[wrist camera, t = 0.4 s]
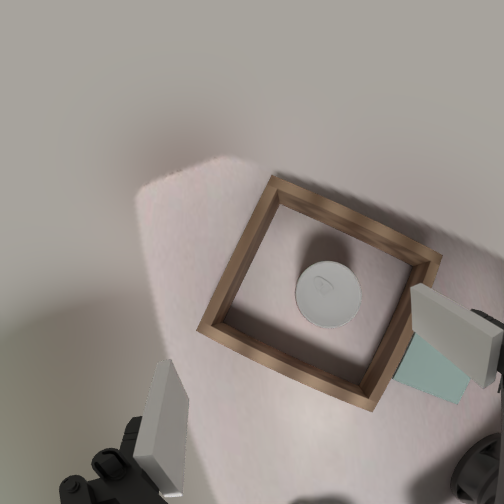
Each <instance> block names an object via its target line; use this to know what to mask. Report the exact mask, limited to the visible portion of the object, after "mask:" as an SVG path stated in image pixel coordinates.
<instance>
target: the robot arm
mask: <svg viewBox="0 0 504 504" xmlns="http://www.w3.org/2000/svg"><path fill="white" fill-rule="evenodd" d="M410 291H411V309H412V330H413V331H414V332H415V333H417V334H418V335H419V336H420V337H422V338H423V339H424V340H425V341H427V342H428V343H429V344H430V345H431V346H433V347H434V348H435V349H436V350H438V351H439V352H440V353H441V354H442V355H444V356H445V357H446V358H447V359H448V360H450V361H451V362H452V363H453V364H454V365H456V366H457V367H458V368H459V369H460V370H462V371H463V372H464V373H465V374H466V375H467V376H469V377H470V378H471V379H472V380H473V381H475V382H476V383H477V384H478V385H479V386H480V387H482V388H483V389H484V388H486V387H487V386H489V385H490V384H492V383H493V382H494V381H495V378H496V373H497V371H498V372H500V373H501V374H502V376H501V380H500V384H499V388H498V393H500V389H501V405H502V429H501V433H498V434H493V435H490V436H488V437H486V438H484V439H482V440H481V441H479V442H478V443H477V444H475V445H474V446H473V447H472V448H471V449H470V450H469V451H468V452H467V453H466V454H465V455H464V456H463V458H462V459H461V460H460V462H459V463H458V465H457V467H456V469H455V471H454V473H453V476H452V479H451V490H452V492H453V494H454V495H455V496H456V498H457V499H458V500H459V501H461V502H463V503H466V504H504V324H503V323H502V322H500V321H498V320H496V319H494V318H493V317H491V316H488V314H486V313H484V312H482V311H479V310H475V309H471V310H469V309H467V308H465V307H463V306H462V305H460V304H458V303H456V302H455V301H453V300H451V299H449V298H447V297H446V296H444V295H442V294H440V293H439V292H437V291H435V290H433V289H431V288H429V287H428V286H426V285H424V284H422V283H420V284H417V285H415V286H412V287H410ZM188 409H189V398H188V396H187V393H186V391H185V389H184V387H183V385H182V382H181V380H180V378H179V376H178V374H177V371H176V369H175V367H174V364H173V362H172V360H171V359H168V360H164V361H160V362H157V365H156V369H155V372H154V376H153V380H152V383H151V387H150V390H149V394H148V398H147V402H146V405H145V409H144V413H143V416H140V417H133V418H132V419H131V420H130V422H129V423H128V424H127V426H126V429H125V432H124V434H125V435H124V436H123V439H122V440H123V441H122V443H121V446H120V450H118V449H115V448H107V449H104V450H102V451H100V452H98V453H97V454H96V455H95V456H94V458H93V459H92V463H91V465H92V468H93V470H94V471H95V472H96V473H97V474H98V475H99V477H100V478H99V479H95V480H91V481H86V480H85V479H84V478H83V477H82V476H79V475H72V476H69V477H67V478H65V479H64V480H63V481H62V483H61V484H60V487H59V493H60V500H61V504H168V503H167V502H166V501H165V500H164V499H163V498H162V497H161V496H160V495H159V491H160V492H161V493H162V494H163V495H164V496H165V497H174V496H183V485H184V466H185V450H186V435H187V422H188Z"/></svg>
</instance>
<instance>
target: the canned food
mask: <svg viewBox="0 0 504 504" xmlns="http://www.w3.org/2000/svg"><path fill="white" fill-rule="evenodd" d="M295 299H296V303H297V306H298V308H299V311H300V312H301V314H302V315H303V316H304V317H305V318H306V319H307V320H308V321H309V322H311V323H312V324H314V325H316V326H319V327H322V328H337V327H340V326H343V325H345V324H347V323H348V322H349V321H351V320H352V319H353V318H354V316H355V315H356V314H357V312H358V310H359V308H360V305H361V299H362V291H361V287H360V283H359V281H358V279H357V277H356V276H355V274H354V273H353V272H352V271H351V270H350V269H349V268H347V267H346V266H344V265H343V264H340V263H338V262H333V261H322V262H317V263H315V264H313V265H311V266H309V267H308V268H307V269H306V270H305V271H304V272H303V273H302V274H301V276H300V277H299V279H298V281H297V284H296V289H295Z"/></svg>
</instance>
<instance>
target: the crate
mask: <svg viewBox="0 0 504 504" xmlns="http://www.w3.org/2000/svg"><path fill="white" fill-rule="evenodd" d="M280 204H282V205H284V206H286V207H289V208H291V209H293V210H295V211H298V212H300V213H302V214H304V215H307V216H309V217H311V218H313V219H316V220H318V221H320V222H322V223H324V224H327V225H329V226H331V227H333V228H335V229H337V230H340V231H342V232H344V233H346V234H348V235H350V236H352V237H355V238H357V239H359V240H361V241H363V242H365V243H367V244H369V245H371V246H373V247H376V248H378V249H380V250H382V251H384V252H386V253H388V254H390V255H392V256H394V257H396V258H398V259H400V260H402V261H404V262H406V263H408V264H410V265H412V266H413V268H412V271H411V274H410V276H409V279H408V281H407V284H406V286H405V289H404V291H403V294H402V296H401V299H400V301H399V303H398V306H397V308H396V310H395V313H394V315H393V317H392V319H391V322H390V324H389V326H388V328H387V331H386V333H385V335H384V337H383V339H382V341H381V343H380V345H379V347H378V349H377V352H376V354H375V356H374V358H373V360H372V362H371V364H370V365H369V367H368V369H367V371H366V373H365V375H364V377H363V379H362V381H361V383H360V384H359V386H358V385H356V384H353V383H351V382H349V381H346V380H344V379H342V378H339V377H337V376H335V375H332V374H330V373H328V372H326V371H323V370H321V369H319V368H316V367H314V366H312V365H310V364H308V363H305V362H303V361H301V360H299V359H297V358H294V357H292V356H290V355H288V354H286V353H284V352H282V351H280V350H277V349H275V348H273V347H271V346H269V345H267V344H265V343H263V342H261V341H259V340H257V339H255V338H253V337H251V336H249V335H247V334H245V333H243V332H241V331H239V330H237V329H235V328H233V327H231V326H229V325H227V324H225V323H223V321H224V319H225V316H226V314H227V312H228V310H229V308H230V306H231V304H232V302H233V300H234V298H235V296H236V294H237V292H238V290H239V288H240V285H241V283H242V281H243V279H244V277H245V275H246V273H247V271H248V269H249V267H250V265H251V263H252V261H253V259H254V256H255V254H256V252H257V250H258V248H259V246H260V244H261V242H262V240H263V238H264V236H265V234H266V232H267V230H268V227H269V225H270V223H271V221H272V219H273V217H274V215H275V213H276V211H277V209H278V207H279V205H280ZM442 256H443V255H441V254H439V253H437V252H436V251H434V250H432V249H430V248H428V247H426V246H424V245H422V244H420V243H419V242H417V241H415V240H413V239H411V238H409V237H407V236H405V235H403V234H401V233H399V232H397V231H395V230H393V229H391V228H389V227H387V226H385V225H383V224H381V223H379V222H377V221H375V220H372V219H370V218H368V217H366V216H364V215H362V214H360V213H358V212H356V211H353V210H351V209H349V208H347V207H345V206H343V205H340V204H338V203H336V202H334V201H332V200H329V199H327V198H325V197H323V196H320V195H318V194H316V193H313V192H311V191H309V190H307V189H304V188H302V187H300V186H297V185H295V184H292V183H290V182H288V181H285V180H283V179H280V178H278V177H276V176H273V175H272V176H271V178H270V180H269V182H268V184H267V186H266V188H265V190H264V192H263V194H262V196H261V198H260V200H259V202H258V204H257V206H256V208H255V210H254V212H253V214H252V216H251V218H250V220H249V222H248V224H247V226H246V228H245V230H244V232H243V234H242V236H241V238H240V240H239V242H238V244H237V247H236V249H235V251H234V253H233V255H232V257H231V259H230V261H229V263H228V265H227V267H226V269H225V271H224V273H223V275H222V277H221V280H220V282H219V284H218V286H217V288H216V290H215V292H214V294H213V296H212V298H211V300H210V302H209V304H208V307H207V309H206V311H205V313H204V315H203V317H202V319H201V321H200V323H199V325H198V328H197V330H196V331H198V332H199V333H201V334H203V335H205V336H207V337H209V338H211V339H212V340H214V341H216V342H218V343H220V344H222V345H224V346H226V347H228V348H230V349H232V350H233V351H235V352H237V353H239V354H241V355H243V356H245V357H247V358H249V359H251V360H253V361H255V362H257V363H260V364H262V365H264V366H266V367H268V368H270V369H272V370H274V371H276V372H278V373H281V374H283V375H285V376H287V377H289V378H291V379H294V380H296V381H298V382H300V383H302V384H305V385H307V386H309V387H312V388H314V389H316V390H318V391H321V392H323V393H325V394H328V395H330V396H333V397H335V398H337V399H340V400H342V401H345V402H347V403H350V404H352V405H355V406H357V407H360V408H362V409H365V410H368V411H370V412H373V410H374V409H375V407H376V405H377V403H378V402H379V400H380V398H381V396H382V394H383V393H384V391H385V389H386V387H387V385H388V383H389V381H390V380H391V378H392V376H393V374H394V372H395V370H396V368H397V366H398V364H399V362H400V360H401V358H402V356H403V354H404V351H405V349H406V347H407V345H408V343H409V341H410V339H411V336H412V334H413V332H414V331H413V330H412V309H411V291H410V287H412V286H415V285H417V284H420V283H422V284H424V285H426V286H428V287H429V288H432V285H433V282H434V280H435V277H436V274H437V271H438V268H439V265H440V262H441V259H442Z"/></svg>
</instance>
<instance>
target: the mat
mask: <svg viewBox="0 0 504 504" xmlns="http://www.w3.org/2000/svg"><path fill="white" fill-rule="evenodd" d="M392 379H393V380H396V381H398V382H401V383H403V384H406V385H408V386H411V387H413V388H416V389H418V390H421V391H423V392H426V393H429V394H431V395H434V396H436V397H439V398H442V399H444V400H447V401H450V402H452V403H455V404H458V403H459V401H460V399H461V397H462V395H463V393H464V391H465V389H466V387H467V385H468V383H469V381H470V379H471V378H470V377H469V376H467V375H466V374H465V373H464V372H463V371H462V370H460V369H459V368H458V367H457V366H456V365H454V364H453V363H452V362H451V361H450V360H448V359H447V358H446V357H445V356H444V355H442V354H441V353H440V352H439V351H438V350H436V349H435V348H434V347H433V346H431V345H430V344H429V343H428V342H427V341H425V340H424V339H423V338H422V337H420V336H419V335H418V334H417V333H415V332H414V334H413V336H412V339H411V341H410V343H409V345H408V347H407V349H406V352H405V354H404V356H403V358H402V360H401V362H400V364H399V366H398V368H397V370H396V372H395V374H394V376H393V378H392Z"/></svg>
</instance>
